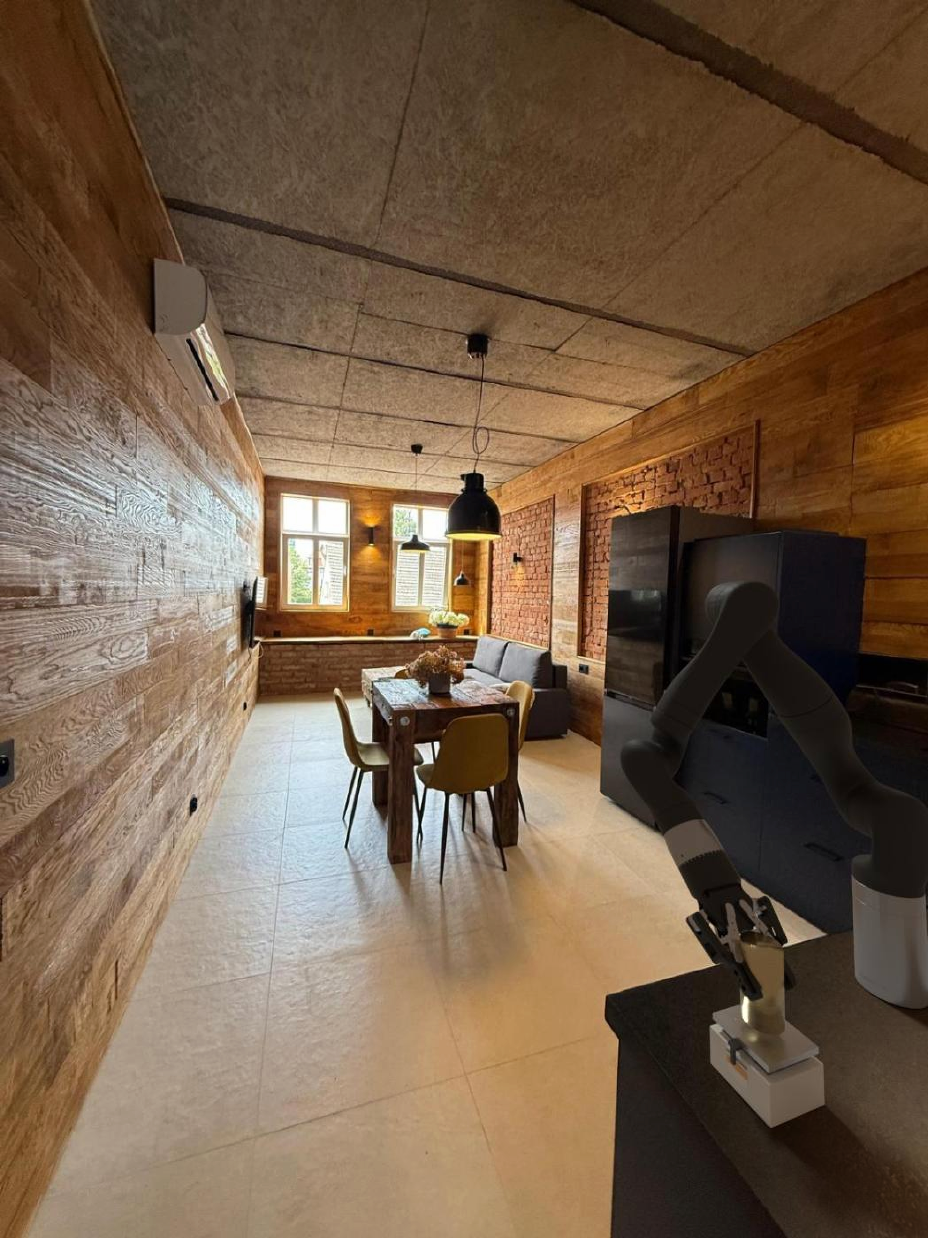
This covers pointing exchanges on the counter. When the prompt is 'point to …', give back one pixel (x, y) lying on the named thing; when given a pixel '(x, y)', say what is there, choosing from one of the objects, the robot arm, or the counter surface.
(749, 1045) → the box lid
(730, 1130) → the counter surface
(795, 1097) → the white latched box
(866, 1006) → the counter surface
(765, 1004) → the disc
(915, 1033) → the counter surface
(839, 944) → the counter surface
